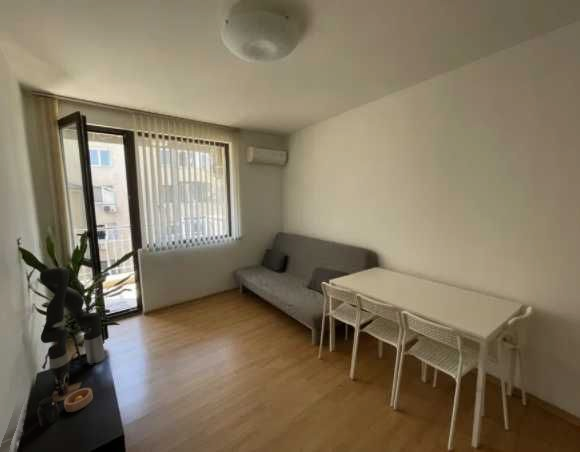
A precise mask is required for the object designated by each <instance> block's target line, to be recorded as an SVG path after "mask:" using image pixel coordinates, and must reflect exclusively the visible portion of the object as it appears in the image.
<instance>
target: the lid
mask: <svg viewBox="0 0 580 452" xmlns="http://www.w3.org/2000/svg"><path fill="white" fill-rule="evenodd" d="M81 386H82V381H79V382H76V383H73V384H69V385H68V384H67V383H64V384H63V389H64V395H62V396H58V391H56V392H55V390H54V391H53V393H52V395H51V396H50V397H53V401H56V402H57V403H59V402H64V401H65V399H66V398H67V397H68V396H69V395H70V394H72V393H73V392H75V391H77V390H80V389H81V388H80V387H81Z"/></svg>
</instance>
